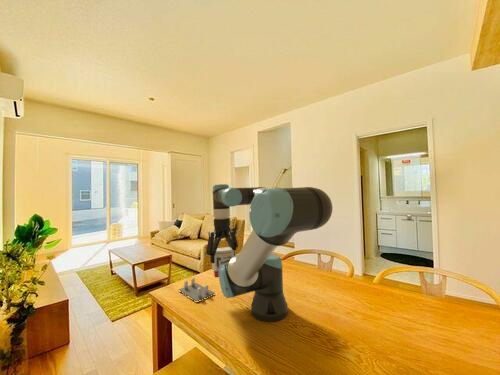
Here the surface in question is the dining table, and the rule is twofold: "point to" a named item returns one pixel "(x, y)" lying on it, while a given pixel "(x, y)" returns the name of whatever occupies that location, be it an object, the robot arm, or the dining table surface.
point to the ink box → (223, 258)
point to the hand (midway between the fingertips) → (223, 266)
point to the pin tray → (196, 290)
